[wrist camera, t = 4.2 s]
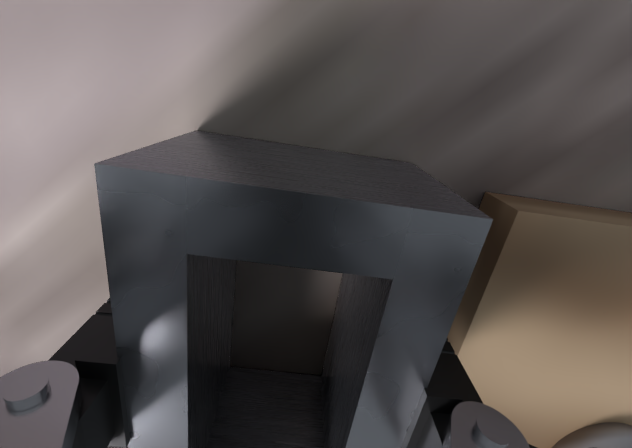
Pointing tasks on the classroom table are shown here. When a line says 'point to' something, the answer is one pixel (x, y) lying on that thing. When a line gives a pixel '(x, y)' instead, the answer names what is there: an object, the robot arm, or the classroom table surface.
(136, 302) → the grey storage bin
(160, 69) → the classroom table surface
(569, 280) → the keeper board
